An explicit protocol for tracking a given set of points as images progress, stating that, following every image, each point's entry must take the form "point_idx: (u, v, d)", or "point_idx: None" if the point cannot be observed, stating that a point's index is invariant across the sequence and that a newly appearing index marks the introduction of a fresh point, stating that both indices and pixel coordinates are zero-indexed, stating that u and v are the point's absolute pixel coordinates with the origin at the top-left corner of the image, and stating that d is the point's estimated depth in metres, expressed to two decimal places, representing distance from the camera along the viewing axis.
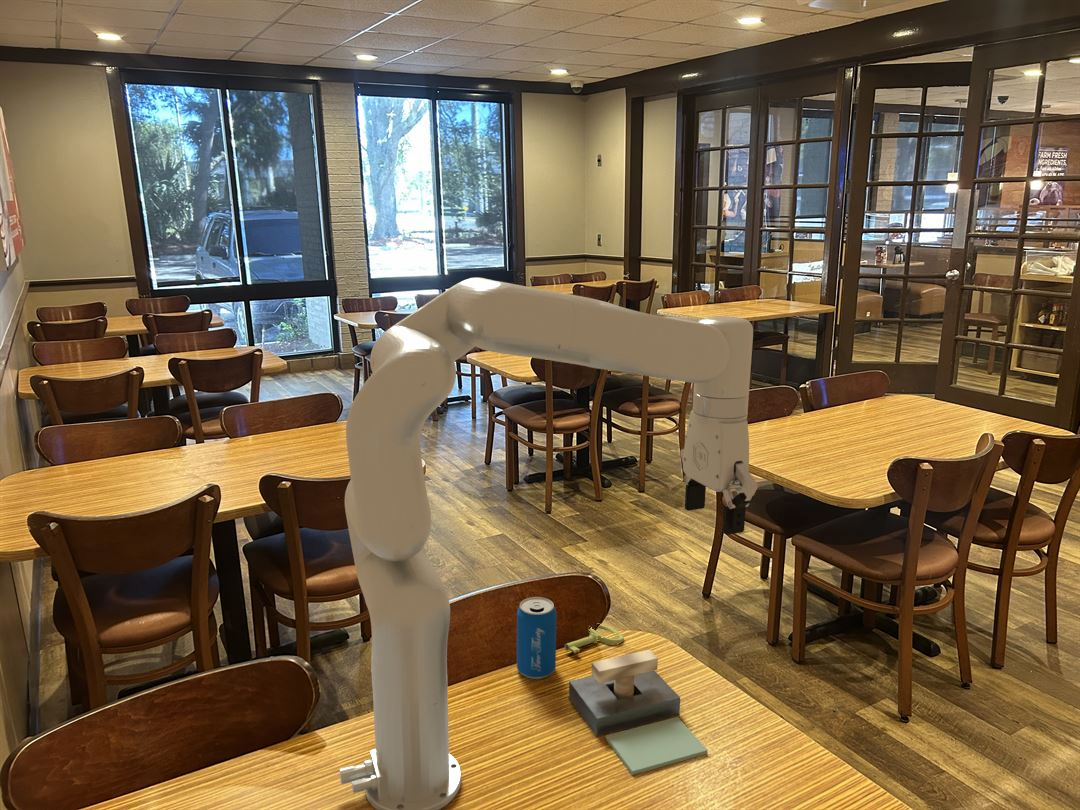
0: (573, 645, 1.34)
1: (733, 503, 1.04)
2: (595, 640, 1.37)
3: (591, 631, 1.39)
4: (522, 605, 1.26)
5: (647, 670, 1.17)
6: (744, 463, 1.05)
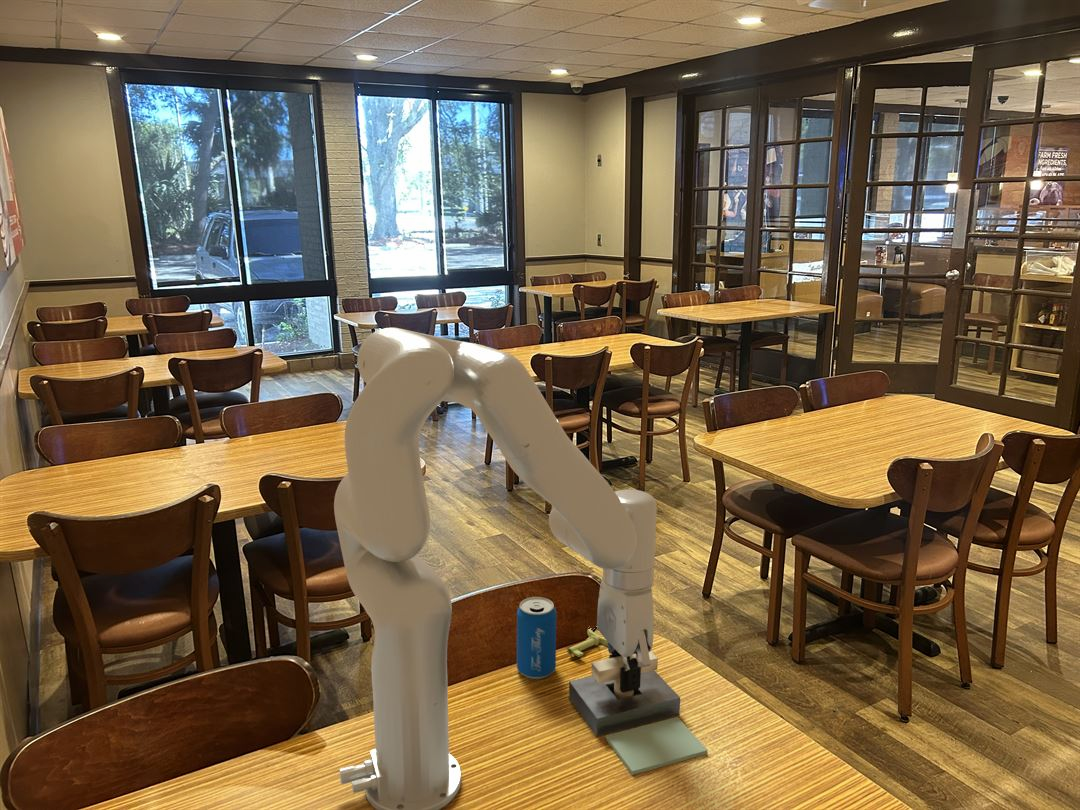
0: (576, 649, 1.32)
1: (628, 669, 1.14)
2: (596, 642, 1.36)
3: (590, 633, 1.38)
4: (522, 605, 1.26)
5: (647, 670, 1.17)
6: (648, 631, 1.11)
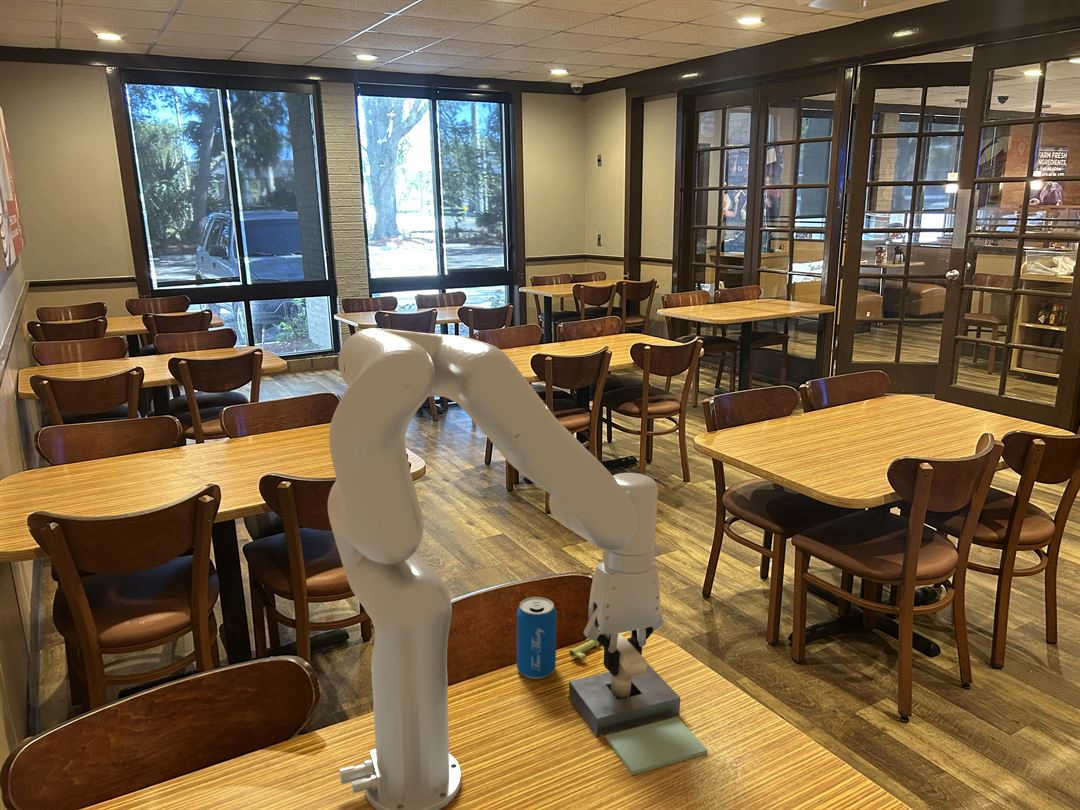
0: (578, 651, 1.32)
1: None
2: (597, 644, 1.35)
3: None
4: (522, 605, 1.26)
5: (625, 668, 1.13)
6: (598, 609, 1.12)
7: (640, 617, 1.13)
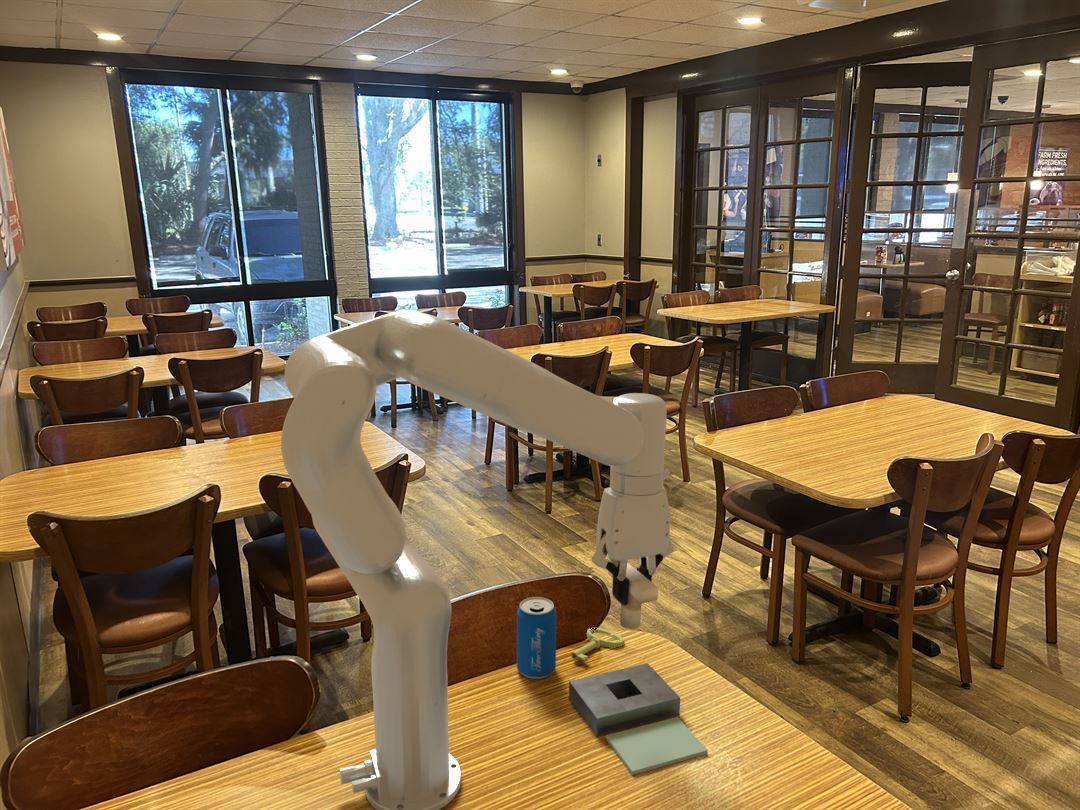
0: (580, 653, 1.31)
1: None
2: (598, 645, 1.35)
3: (591, 636, 1.38)
4: (522, 605, 1.26)
5: (635, 596, 1.09)
6: (607, 534, 1.08)
7: (650, 543, 1.10)
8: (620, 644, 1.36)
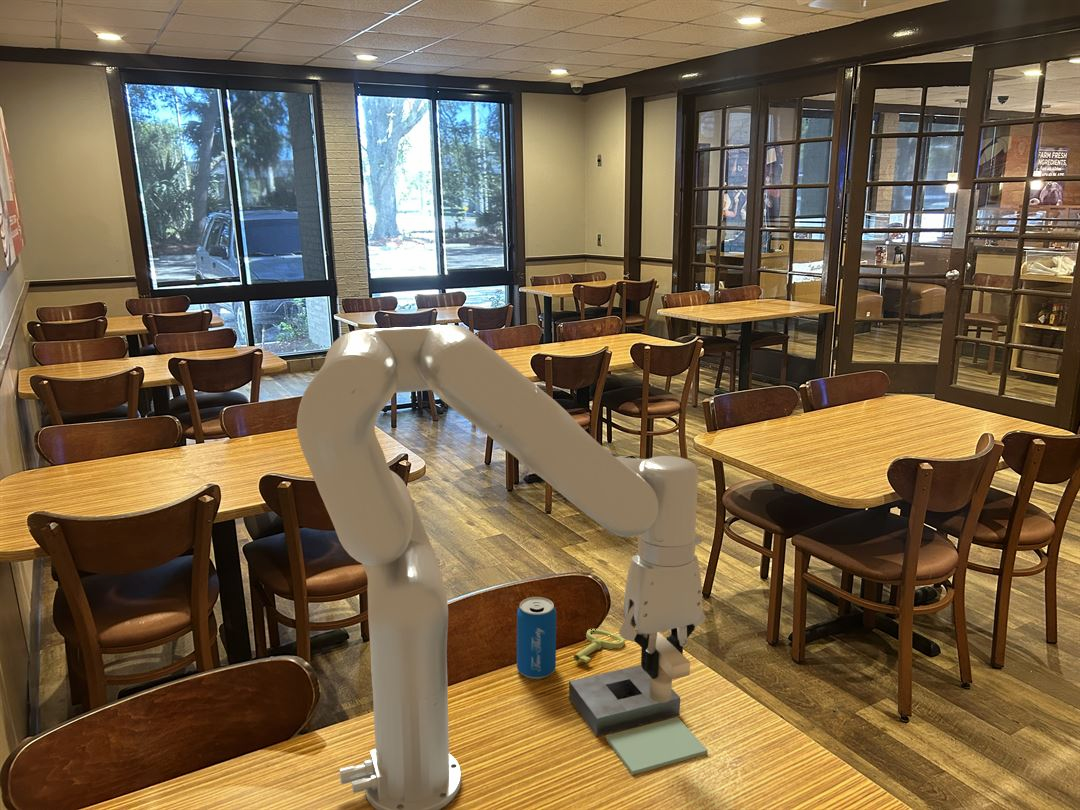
0: (582, 654, 1.31)
1: None
2: (599, 646, 1.35)
3: (591, 637, 1.37)
4: (522, 605, 1.26)
5: (665, 670, 1.03)
6: (635, 606, 1.02)
7: (681, 614, 1.03)
8: (621, 645, 1.35)
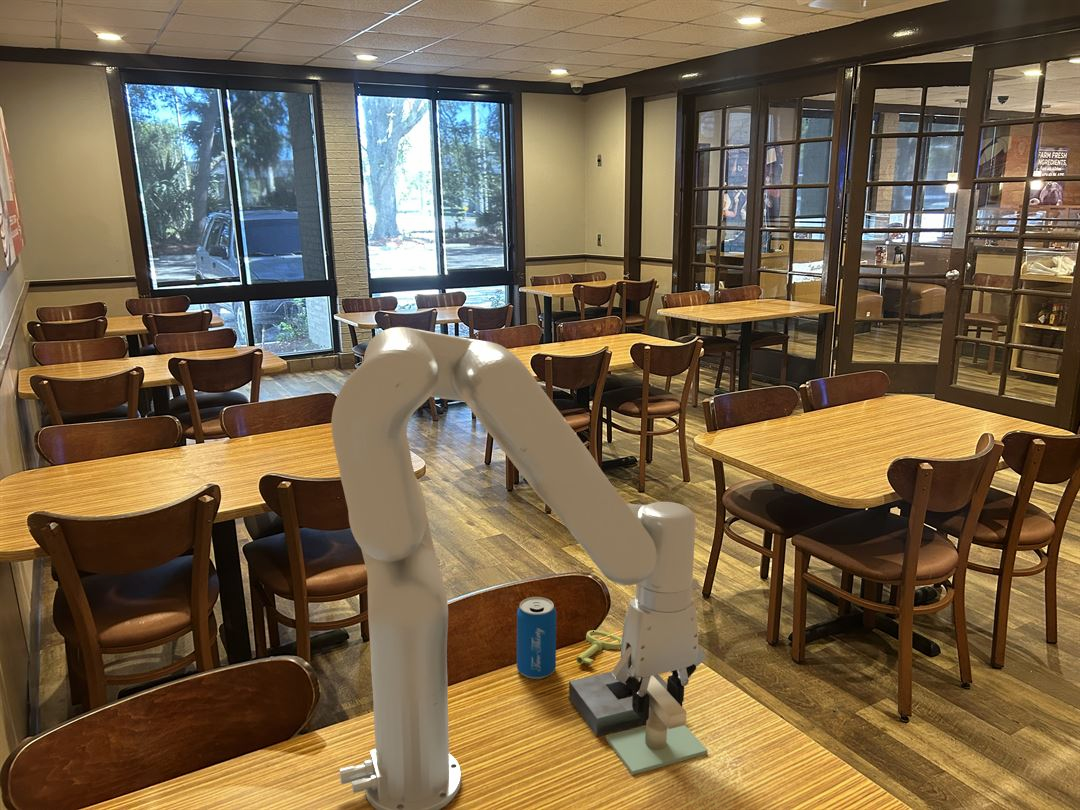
0: (585, 657, 1.30)
1: None
2: (600, 647, 1.34)
3: (591, 639, 1.37)
4: (522, 605, 1.26)
5: (662, 719, 1.05)
6: (632, 650, 1.03)
7: (677, 657, 1.05)
8: None
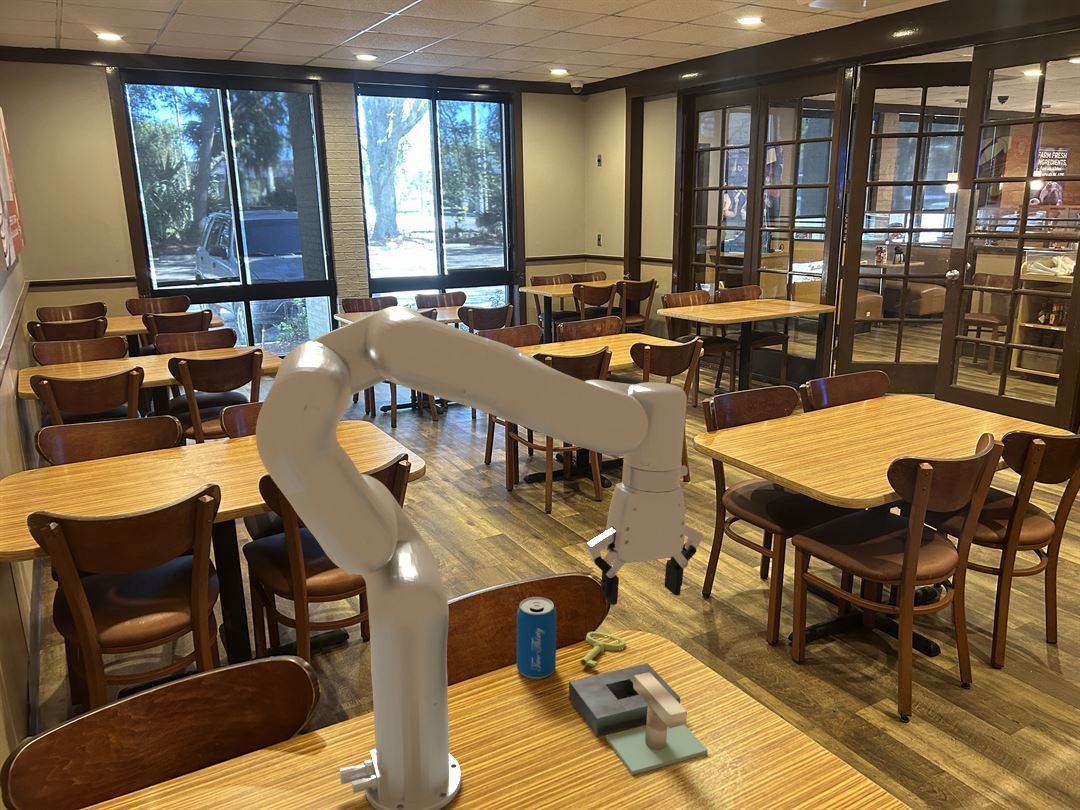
0: (589, 659, 1.29)
1: None
2: (602, 649, 1.34)
3: (592, 641, 1.36)
4: (522, 605, 1.26)
5: (662, 718, 1.05)
6: (617, 533, 1.00)
7: (663, 544, 1.02)
8: (623, 646, 1.35)
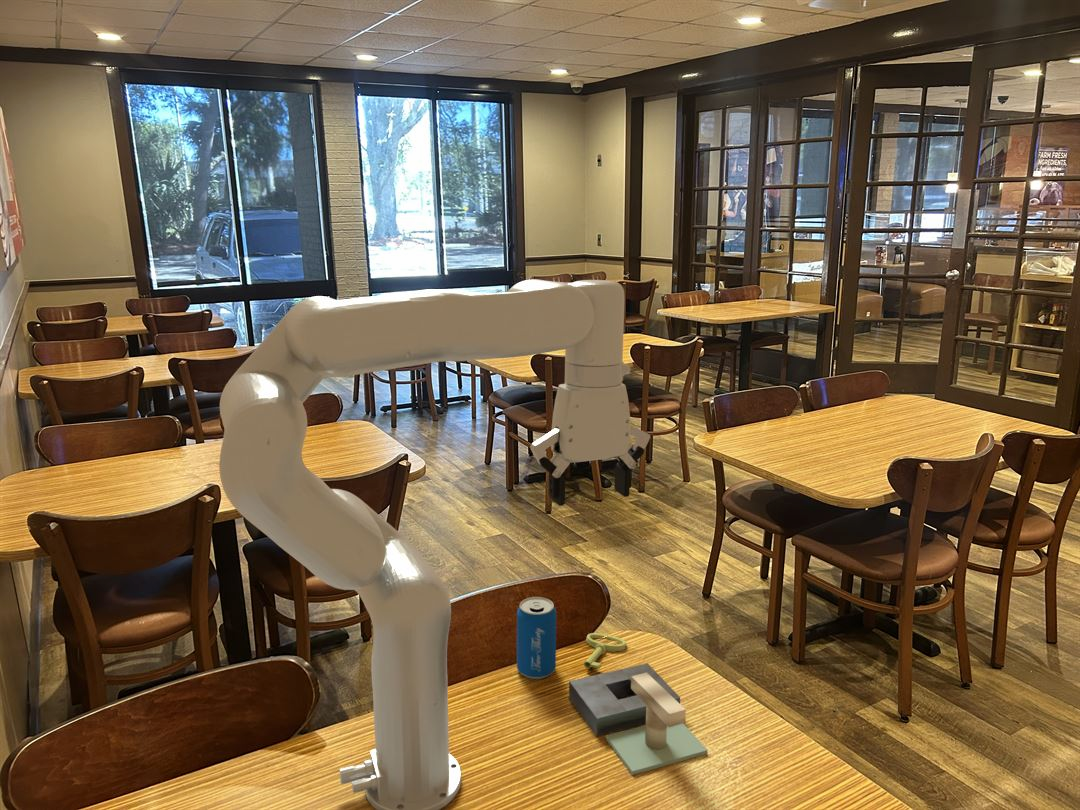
0: (592, 661, 1.29)
1: None
2: (604, 650, 1.33)
3: (593, 642, 1.35)
4: (522, 605, 1.26)
5: (661, 718, 1.05)
6: (560, 432, 1.00)
7: (608, 443, 1.01)
8: (624, 647, 1.35)
